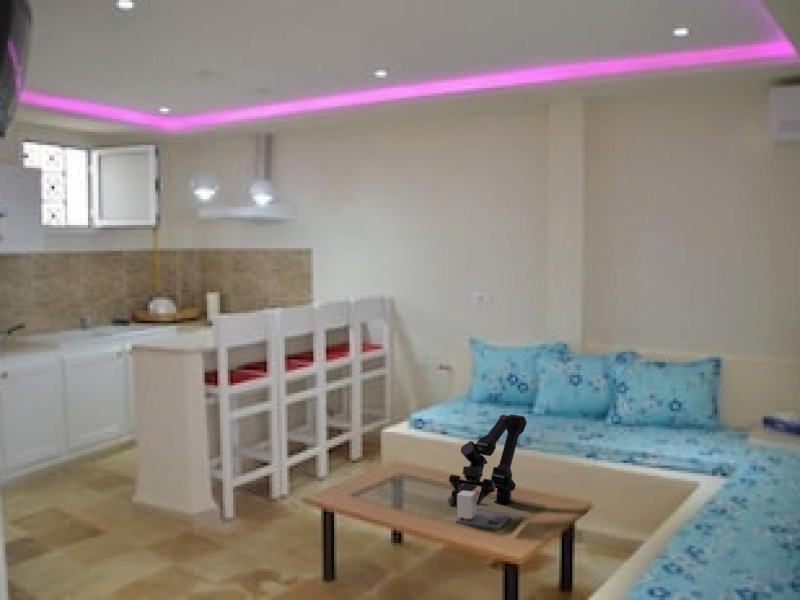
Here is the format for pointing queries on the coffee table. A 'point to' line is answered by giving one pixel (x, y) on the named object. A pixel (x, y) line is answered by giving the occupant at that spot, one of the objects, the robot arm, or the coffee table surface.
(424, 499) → the coffee table surface
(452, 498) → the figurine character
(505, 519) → the socket plate
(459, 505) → the pale grey block
